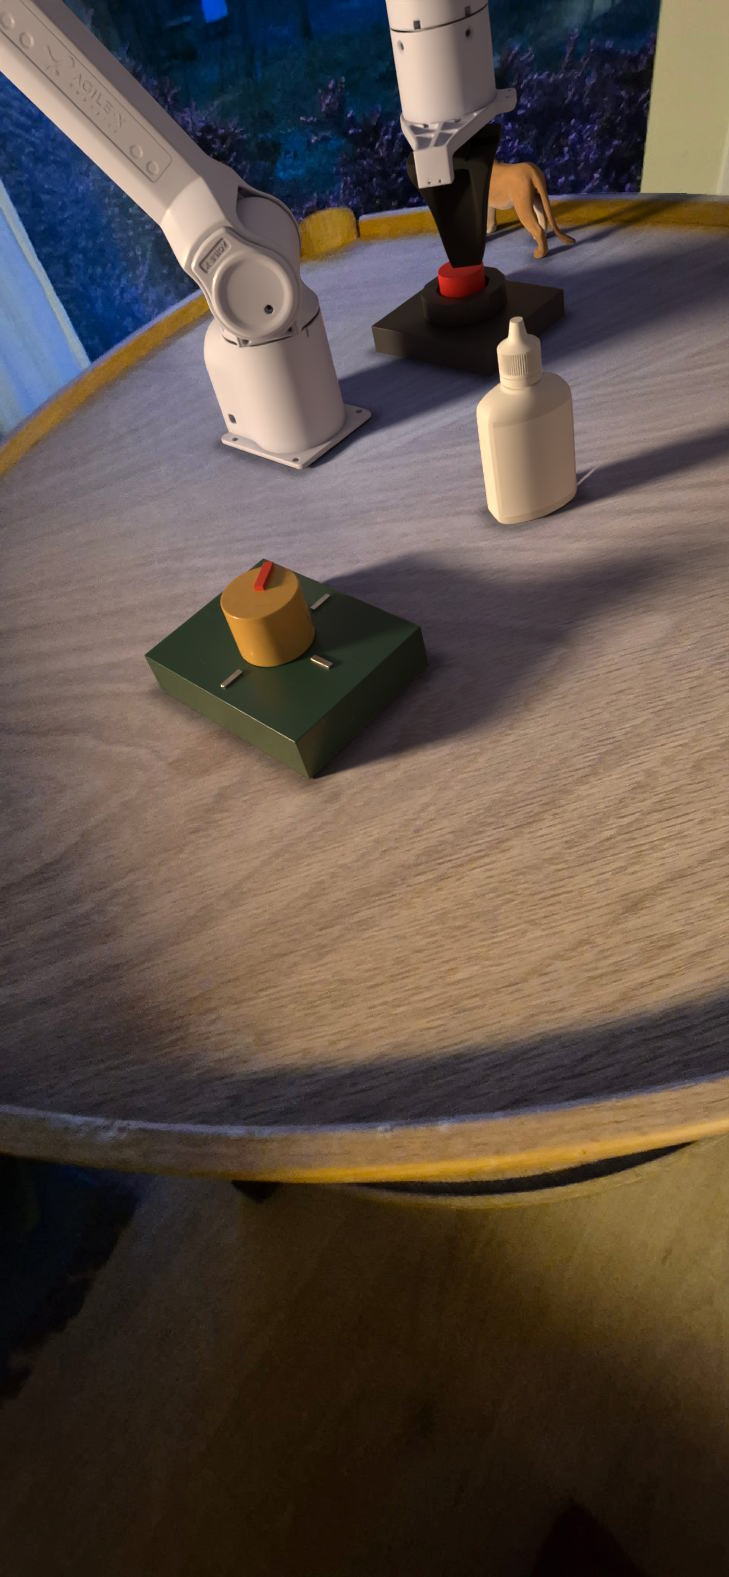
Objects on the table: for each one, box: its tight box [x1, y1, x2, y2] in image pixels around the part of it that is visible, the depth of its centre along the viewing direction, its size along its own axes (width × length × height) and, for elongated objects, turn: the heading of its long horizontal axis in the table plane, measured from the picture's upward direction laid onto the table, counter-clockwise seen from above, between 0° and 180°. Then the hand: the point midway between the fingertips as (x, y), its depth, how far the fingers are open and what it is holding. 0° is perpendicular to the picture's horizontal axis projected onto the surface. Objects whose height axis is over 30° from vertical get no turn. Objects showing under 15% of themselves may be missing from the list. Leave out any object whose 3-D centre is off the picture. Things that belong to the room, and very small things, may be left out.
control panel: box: [143, 558, 430, 780], centre depth 54 cm, size 13×10×3 cm
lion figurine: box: [487, 157, 577, 259], centre depth 84 cm, size 15×5×9 cm, turn 50°
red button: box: [437, 260, 486, 298], centre depth 74 cm, size 4×4×2 cm
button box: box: [371, 265, 566, 378], centre depth 76 cm, size 12×10×4 cm
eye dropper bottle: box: [476, 317, 578, 525], centre depth 57 cm, size 4×6×12 cm
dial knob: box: [221, 561, 315, 667], centre depth 52 cm, size 4×4×4 cm
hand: (468, 262), depth 64 cm, fingers closed
